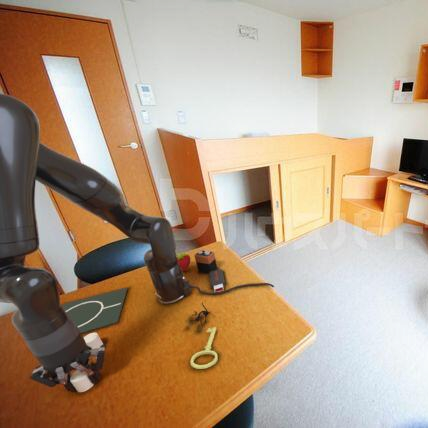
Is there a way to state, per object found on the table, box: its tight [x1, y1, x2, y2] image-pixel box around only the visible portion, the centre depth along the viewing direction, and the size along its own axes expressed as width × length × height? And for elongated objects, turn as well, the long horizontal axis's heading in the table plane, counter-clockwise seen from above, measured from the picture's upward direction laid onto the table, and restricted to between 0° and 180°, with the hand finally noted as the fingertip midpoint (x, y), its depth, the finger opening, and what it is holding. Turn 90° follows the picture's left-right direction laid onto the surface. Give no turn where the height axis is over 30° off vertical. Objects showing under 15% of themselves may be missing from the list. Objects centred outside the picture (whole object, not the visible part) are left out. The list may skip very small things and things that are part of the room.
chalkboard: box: [60, 287, 129, 335], centre depth 82 cm, size 20×18×1 cm
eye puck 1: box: [70, 369, 95, 393], centre depth 61 cm, size 4×4×4 cm
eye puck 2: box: [83, 332, 104, 349], centre depth 70 cm, size 4×4×4 cm
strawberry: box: [176, 251, 191, 272], centre depth 102 cm, size 6×8×10 cm
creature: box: [185, 301, 210, 333], centre depth 79 cm, size 8×5×8 cm
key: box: [189, 326, 219, 370], centre depth 71 cm, size 7×12×2 cm, turn 23°
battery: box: [194, 249, 218, 275], centre depth 102 cm, size 4×7×10 cm, turn 78°
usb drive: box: [208, 268, 226, 292], centre depth 97 cm, size 5×12×3 cm, turn 27°
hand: (86, 383), depth 62 cm, fingers closed on eye puck 1, 3 cm apart
